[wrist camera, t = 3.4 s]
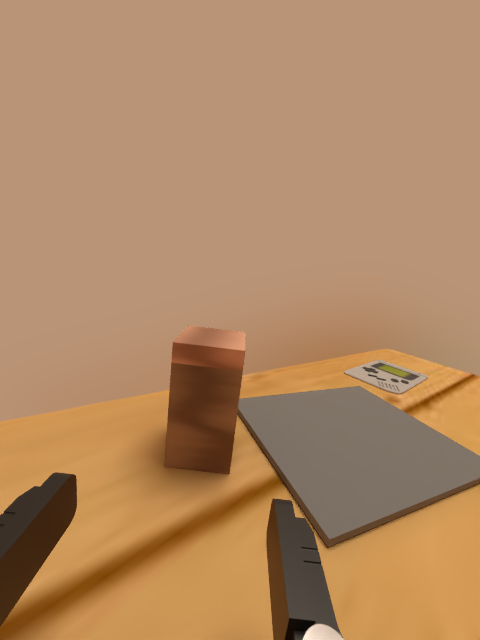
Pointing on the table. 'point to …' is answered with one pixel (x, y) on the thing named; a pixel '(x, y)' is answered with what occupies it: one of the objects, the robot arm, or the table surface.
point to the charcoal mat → (355, 457)
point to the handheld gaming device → (387, 376)
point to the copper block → (204, 398)
